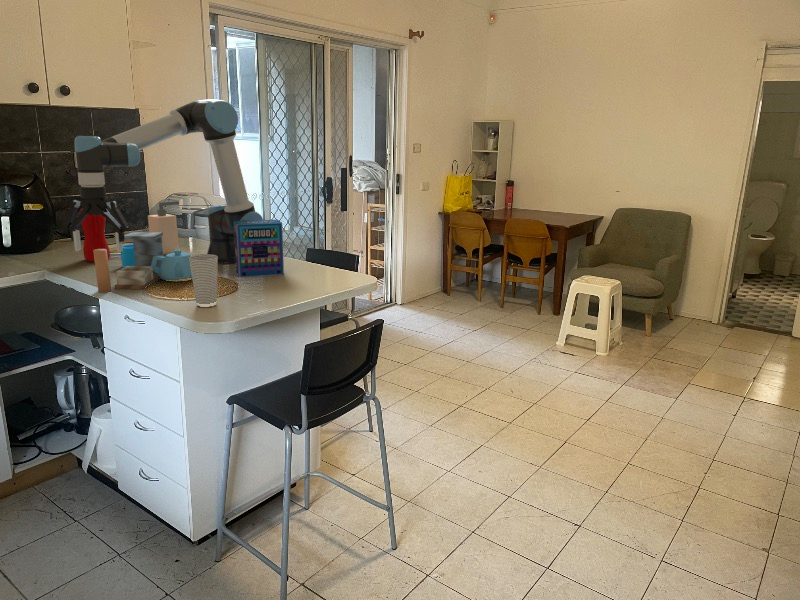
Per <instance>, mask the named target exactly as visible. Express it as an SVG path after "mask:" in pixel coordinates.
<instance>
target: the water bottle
mask: <svg viewBox="0 0 800 600" xmlns="http://www.w3.org/2000/svg"><path fill="white" fill-rule="evenodd" d="M82 210H83V208H82V209H80V211H79V213H78V216H79V215H80V213H81V212H82ZM106 221H107V219H106V218H105V217H103V216H102V215H89V214H88V215H87V216H86V217H85V219H84V220H83V221H82V223H81V224H80V225H81V227H82V231H83V234H84V239H83V249H82V252H83V257H84V260H85V261H88V262H89V263H93V262H94V263H95V260H94V252H93V250H96V249H107V256H108V261H109V260H110V258H111V251H110V248H109V244H108V241H107V238H106V235H105V228H106Z"/></svg>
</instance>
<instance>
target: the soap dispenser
mask: <svg viewBox="0 0 800 600" xmlns="http://www.w3.org/2000/svg"><path fill="white" fill-rule="evenodd" d="M174 205H175V206H176V205H177V206H178V205H180V201H179V200H169V201H159V202H158V208H159V209H157V211H156V212H157V214H150V215H147V222H148V232H156V233H163V236H162V246H163V255H167V254H170V253H174V250H178V249H179V250H180V246H179V235H178V234H179V233H178V223H177V215H174V214H169V213H167V211H166V209H164V207H165V206H166V207H167V206H174Z"/></svg>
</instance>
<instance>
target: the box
mask: <svg viewBox="0 0 800 600" xmlns="http://www.w3.org/2000/svg"><path fill="white" fill-rule="evenodd" d="M283 231H284V230H283V222H281V220H279V219H263V220H249V221H234V239H235V257H236V262H235V268H236V269H235V270H236V274H238V275H237V276H239V277H244V278H258V277H273V276H275V277H276V276H284V275H285V269H284V268H285V266H284V239H283V236H284V235H283ZM239 277H238V278H239Z"/></svg>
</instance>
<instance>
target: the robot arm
mask: <svg viewBox="0 0 800 600" xmlns="http://www.w3.org/2000/svg"><path fill="white" fill-rule="evenodd" d="M238 125H239V115H238V112H237V111H236V109H235V107H234V105H232V104H231V103H230V102H228V101H226V100H221V99H216V98H215V99H199V100H194V101H192V102H189V103H186V104H184V105H182V106H180V107H177V108H175V109H173V110H170V112H169V114H167V115H165V116H162V117H160V118H157V119H155V120H152V121H148V122H146V123H144V124H142V125H139V126H136V127H133V128H131V129H128V130H125V131H123V132H120V133H118V134H115V135H113V136H111V137H108V138H105V139H101V137H99V136H96V135H95V136H94V135H92V136H91V135H90V136H89V135H85V136H84V135H77V136H76V137H75V138H74V153H75V159H76V160H75V161H76V168H77V178H78V185H79V188H78V189H79V196H80V200H77V199H74V200H71V201H70V208H69V212H68V214H67V216H66V219H65V222H64V223H63V229H64V230H68V231H69V232H70V233H69V234H70V240H71V241H72V242H73V245H74V251H75V252H80V251H82V243H81V235H80V229H79V230H78V228H79V226H80V225H81V223H82V221H83V220H84V219H85V217H86V216H87V215H88V214H89V215H102V216H103V217H105V218H106V221H107V222H108V223H109V224H110V225H111V226H112V227H113V228H114V229H115V230H116V232H115V236H114V237H115V245H116V252H117V253H121V251H123V242H125V240H126V239H124V235H125V231H127V230H130V228H131V227H130V226H129V224H128V222H127V220H126V218H125V217H124V215H123V214H122V212H121V210H120V209H119V207H118V206H119V205H118V202H117V201H115V200H113V201H107V191H106V189H107V188H106V187H105V186H104V185H106V181H105V171H104V169H105V167H128V168H130V167H136V166H138V165H139V164H140V162H141V150H144V149H146V148H149V147H151V146H153V145H156V144H159V143H161V142H163V141H166V140H168V139H172V138H173V137H176V136H178V135H179V136H186V135H188V134H193V133H202V134H203V138H204V141H206V142H207V143H208V144H209V145H210V148H211V150H212V155H213V159H214V162H215V167H216V170H217V173H218V178H219V181H220V185H221V188H222V192H223V195H224V198H225V203H226V204H222V205H212V206H209V207H208V209H207V219H208V220H207V221H208V235H209V244H208V248H207V252H206V254H212V255H216V256H218V264H234V263H236V257H235V239H234V221H249V220H264V218H263V216H262V215H261V214H260V213H259V212H258V211H256V209H255V205H254V202H252V201H251V200H249V197H248V193H247V188H246V184H245V181H244V177H243V172H242V169H241V165H240V162H239V161H240V160H239V158H238V154H237V149H236V146H235V141H234V140H235V137H236V136H237V132H236V129H237V128H238ZM80 207H81V208H82V209H83V210H82V212H81V213H80V212H79V213H80V215H79V214H78V216H77V218H76V214H77V212H78V211H79V210H78V209H79V208H80ZM108 207H109V209H110V210H111V212H112V213H113V214H114V216H115V217H114V216H113V215H112V214H111V212H110V211H109V210H108V209H107V208H108ZM75 218H76V219H75ZM74 220H75V221H74Z"/></svg>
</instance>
